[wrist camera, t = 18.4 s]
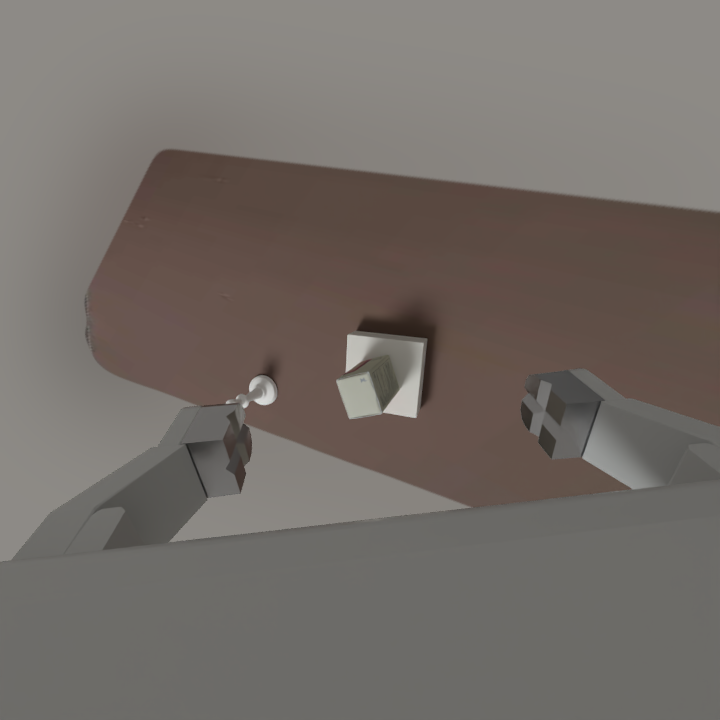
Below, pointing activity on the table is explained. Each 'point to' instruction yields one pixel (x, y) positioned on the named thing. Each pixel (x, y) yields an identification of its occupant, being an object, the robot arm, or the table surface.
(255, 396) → the chess piece
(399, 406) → the off-white block
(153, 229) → the table surface
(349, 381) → the small box
